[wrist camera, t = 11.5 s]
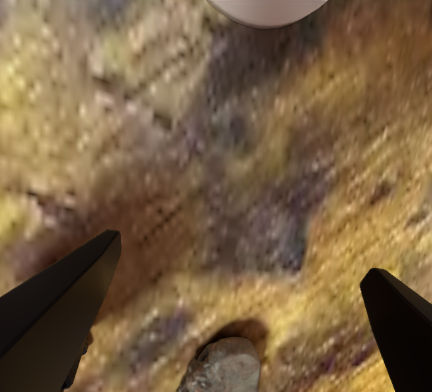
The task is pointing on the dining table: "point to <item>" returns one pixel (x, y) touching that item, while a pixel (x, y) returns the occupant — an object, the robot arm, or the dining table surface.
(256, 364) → the elongated rock
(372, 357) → the dining table surface
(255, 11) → the beige flattened disc
